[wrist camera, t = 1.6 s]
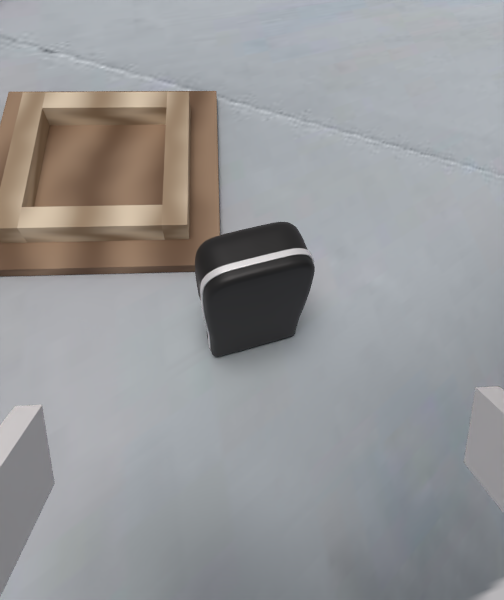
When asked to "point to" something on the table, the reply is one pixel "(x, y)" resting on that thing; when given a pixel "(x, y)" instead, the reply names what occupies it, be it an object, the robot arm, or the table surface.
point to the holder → (107, 181)
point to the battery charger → (253, 285)
